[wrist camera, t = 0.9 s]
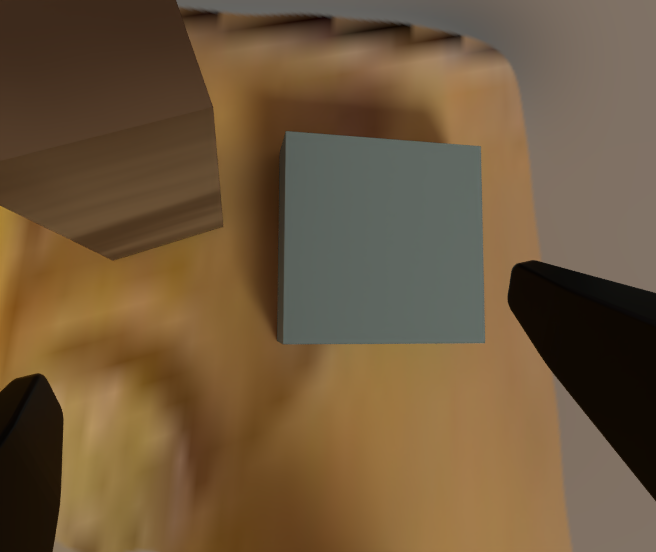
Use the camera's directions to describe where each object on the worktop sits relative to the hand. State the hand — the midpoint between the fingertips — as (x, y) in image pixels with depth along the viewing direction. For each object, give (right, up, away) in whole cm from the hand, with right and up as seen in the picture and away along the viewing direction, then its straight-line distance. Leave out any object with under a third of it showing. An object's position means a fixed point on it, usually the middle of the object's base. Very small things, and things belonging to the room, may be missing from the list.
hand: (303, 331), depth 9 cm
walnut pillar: (-8, +5, +13) cm, 16 cm away
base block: (+2, +2, +15) cm, 15 cm away
